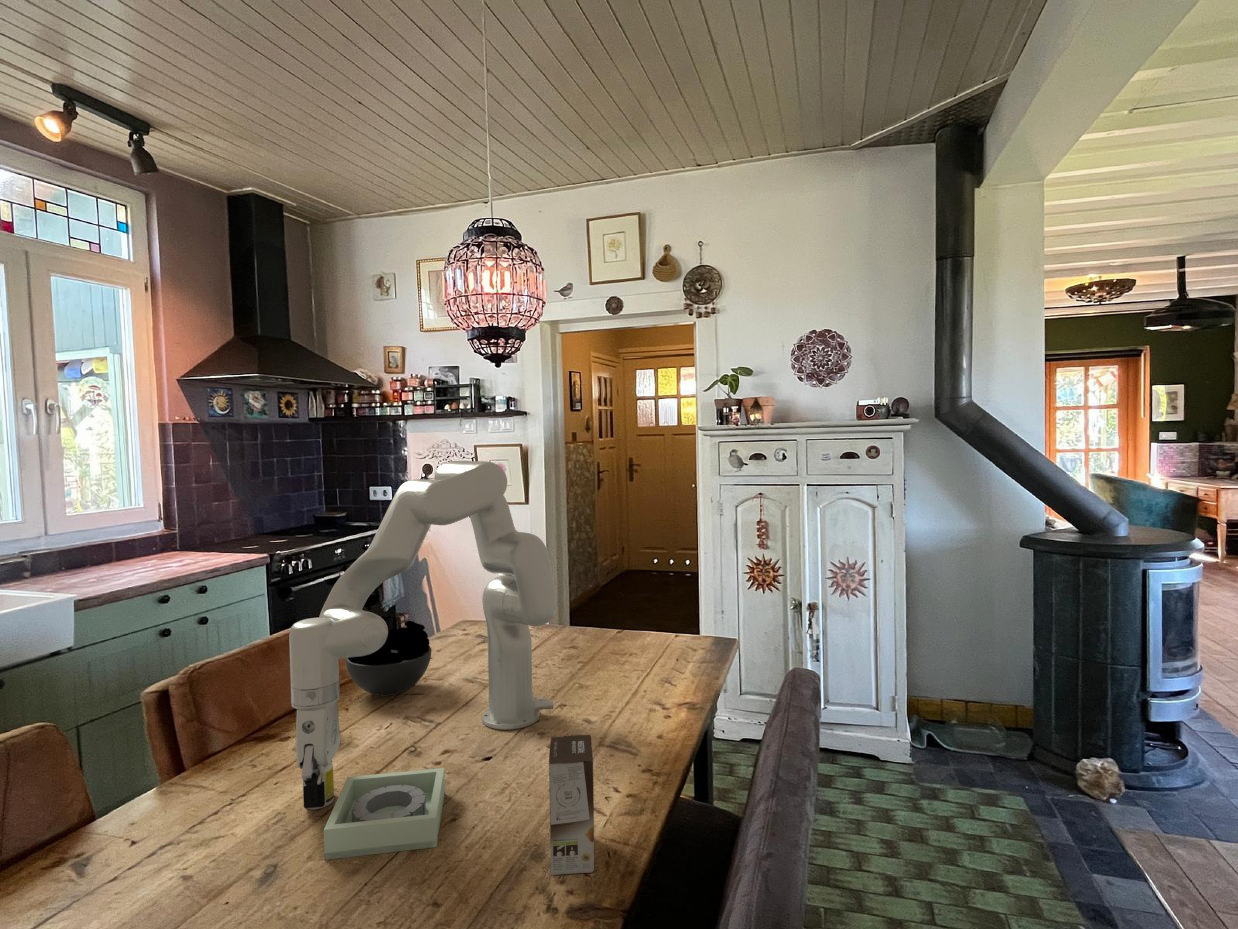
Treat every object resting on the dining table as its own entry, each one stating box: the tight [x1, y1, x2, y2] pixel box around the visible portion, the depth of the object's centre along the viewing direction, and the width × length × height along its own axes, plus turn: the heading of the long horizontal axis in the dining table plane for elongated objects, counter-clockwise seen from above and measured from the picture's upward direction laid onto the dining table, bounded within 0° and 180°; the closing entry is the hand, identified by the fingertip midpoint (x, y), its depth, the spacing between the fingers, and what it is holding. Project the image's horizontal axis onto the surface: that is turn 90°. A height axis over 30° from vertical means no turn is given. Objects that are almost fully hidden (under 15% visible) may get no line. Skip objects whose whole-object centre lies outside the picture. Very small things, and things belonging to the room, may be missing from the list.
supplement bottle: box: [306, 761, 335, 810], centre depth 115 cm, size 5×5×8 cm
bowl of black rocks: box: [344, 615, 432, 697], centre depth 166 cm, size 20×20×19 cm
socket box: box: [323, 767, 446, 861], centre depth 108 cm, size 16×16×4 cm
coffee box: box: [548, 734, 595, 876], centre depth 99 cm, size 9×6×16 cm
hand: (318, 797), depth 115 cm, fingers closed on supplement bottle, 4 cm apart
